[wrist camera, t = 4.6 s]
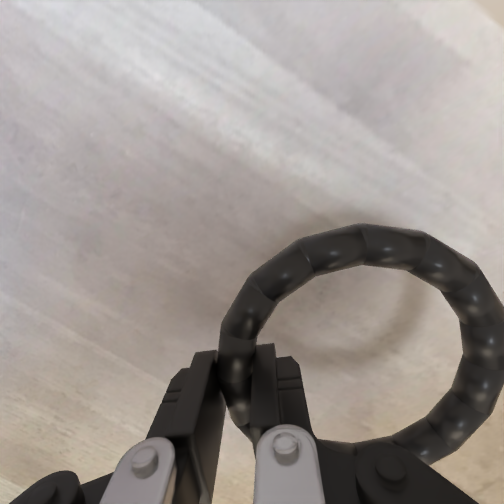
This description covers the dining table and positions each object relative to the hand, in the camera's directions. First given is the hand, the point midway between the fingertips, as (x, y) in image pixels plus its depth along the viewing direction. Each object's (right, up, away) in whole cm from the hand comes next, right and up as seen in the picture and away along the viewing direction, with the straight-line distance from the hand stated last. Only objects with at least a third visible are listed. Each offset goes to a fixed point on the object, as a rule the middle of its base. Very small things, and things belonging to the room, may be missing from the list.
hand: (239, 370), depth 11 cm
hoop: (+4, 0, -1) cm, 4 cm away
